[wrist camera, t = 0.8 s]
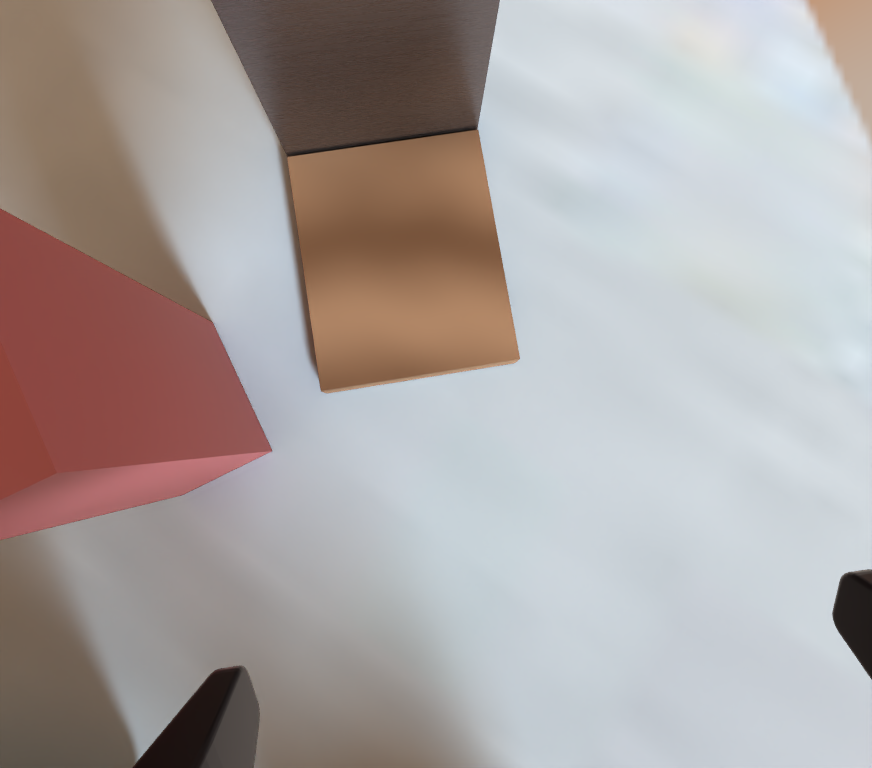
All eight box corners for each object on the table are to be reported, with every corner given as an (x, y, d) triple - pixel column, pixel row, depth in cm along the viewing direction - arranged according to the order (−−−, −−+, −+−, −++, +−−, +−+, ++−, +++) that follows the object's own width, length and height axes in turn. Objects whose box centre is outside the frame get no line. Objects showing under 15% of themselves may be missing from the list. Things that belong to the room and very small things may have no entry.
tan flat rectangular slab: (514, 362, 22) (519, 359, 21) (326, 393, 21) (320, 391, 20) (475, 145, 23) (478, 129, 21) (294, 171, 22) (287, 157, 21)
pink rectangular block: (272, 450, 21) (56, 472, 9) (182, 495, 21) (-173, 583, 8) (212, 322, 22) (-74, 169, 9) (123, 364, 21) (-294, 264, 9)
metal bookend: (474, 143, 23) (507, -48, 14) (294, 169, 22) (207, -8, 13) (468, 112, 23) (498, -97, 14) (289, 137, 22) (200, -60, 14)
